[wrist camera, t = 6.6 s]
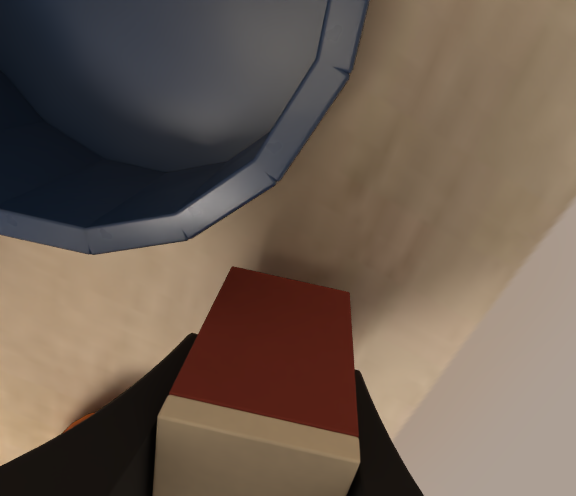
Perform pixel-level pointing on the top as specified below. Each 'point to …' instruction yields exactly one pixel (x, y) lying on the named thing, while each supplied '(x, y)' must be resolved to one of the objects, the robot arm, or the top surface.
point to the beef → (263, 396)
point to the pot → (158, 111)
